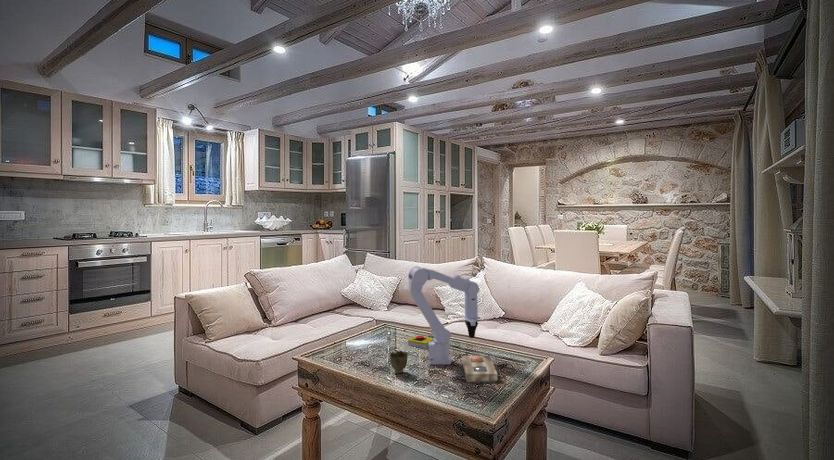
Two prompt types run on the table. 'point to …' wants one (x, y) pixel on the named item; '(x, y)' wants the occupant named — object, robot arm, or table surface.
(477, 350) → the table surface
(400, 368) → the cup
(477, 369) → the grey button
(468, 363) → the button panel
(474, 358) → the terracotta button
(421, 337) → the emergency button
